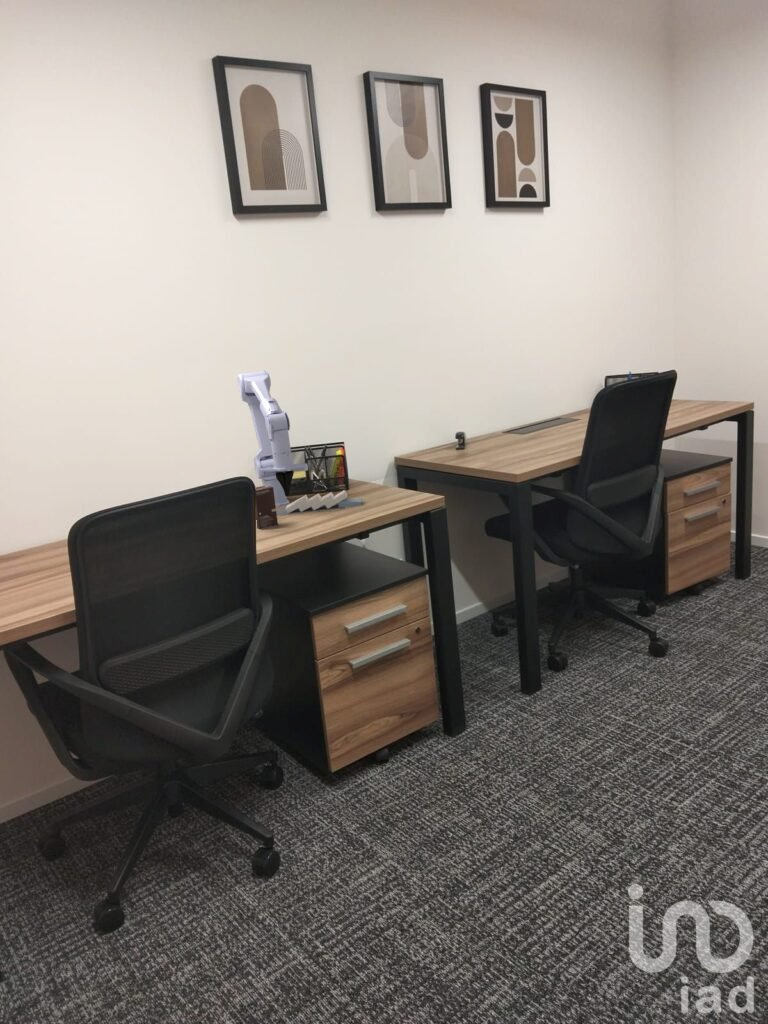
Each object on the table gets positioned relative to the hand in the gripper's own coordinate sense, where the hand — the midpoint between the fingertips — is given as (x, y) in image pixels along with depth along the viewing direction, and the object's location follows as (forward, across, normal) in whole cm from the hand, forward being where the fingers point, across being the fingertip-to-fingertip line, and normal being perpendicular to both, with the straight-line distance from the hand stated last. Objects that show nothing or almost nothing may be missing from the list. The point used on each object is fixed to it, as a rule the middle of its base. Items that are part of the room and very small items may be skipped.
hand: (288, 495), depth 230 cm
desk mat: (+6, +6, +4) cm, 9 cm away
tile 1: (+4, -1, 0) cm, 5 cm away
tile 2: (+4, +3, 0) cm, 6 cm away
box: (+6, -5, -16) cm, 17 cm away
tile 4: (+4, +12, 0) cm, 12 cm away
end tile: (+4, +16, 0) cm, 16 cm away
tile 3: (+4, +7, 0) cm, 9 cm away
